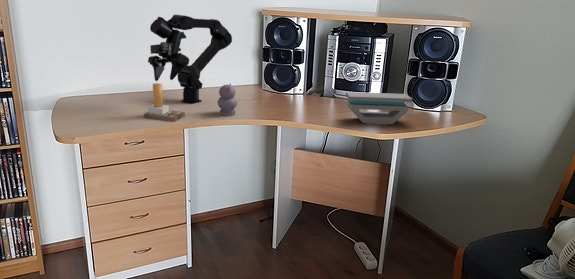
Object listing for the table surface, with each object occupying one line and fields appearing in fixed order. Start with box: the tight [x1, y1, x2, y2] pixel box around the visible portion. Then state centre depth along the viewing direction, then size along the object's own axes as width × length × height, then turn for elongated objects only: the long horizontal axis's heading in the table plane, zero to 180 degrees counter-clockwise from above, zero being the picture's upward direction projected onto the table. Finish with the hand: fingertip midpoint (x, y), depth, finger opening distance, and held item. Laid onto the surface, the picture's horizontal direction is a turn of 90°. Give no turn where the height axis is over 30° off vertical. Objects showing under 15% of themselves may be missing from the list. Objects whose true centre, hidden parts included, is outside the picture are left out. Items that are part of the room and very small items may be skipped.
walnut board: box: [143, 109, 186, 122], centre depth 168 cm, size 8×13×2 cm, turn 77°
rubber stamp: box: [147, 82, 170, 115], centre depth 167 cm, size 5×6×11 cm
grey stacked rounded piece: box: [217, 83, 238, 117], centre depth 175 cm, size 8×8×12 cm
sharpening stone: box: [345, 91, 413, 125], centre depth 176 cm, size 25×8×11 cm, turn 94°
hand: (163, 80), depth 173 cm, fingers open, 9 cm apart
